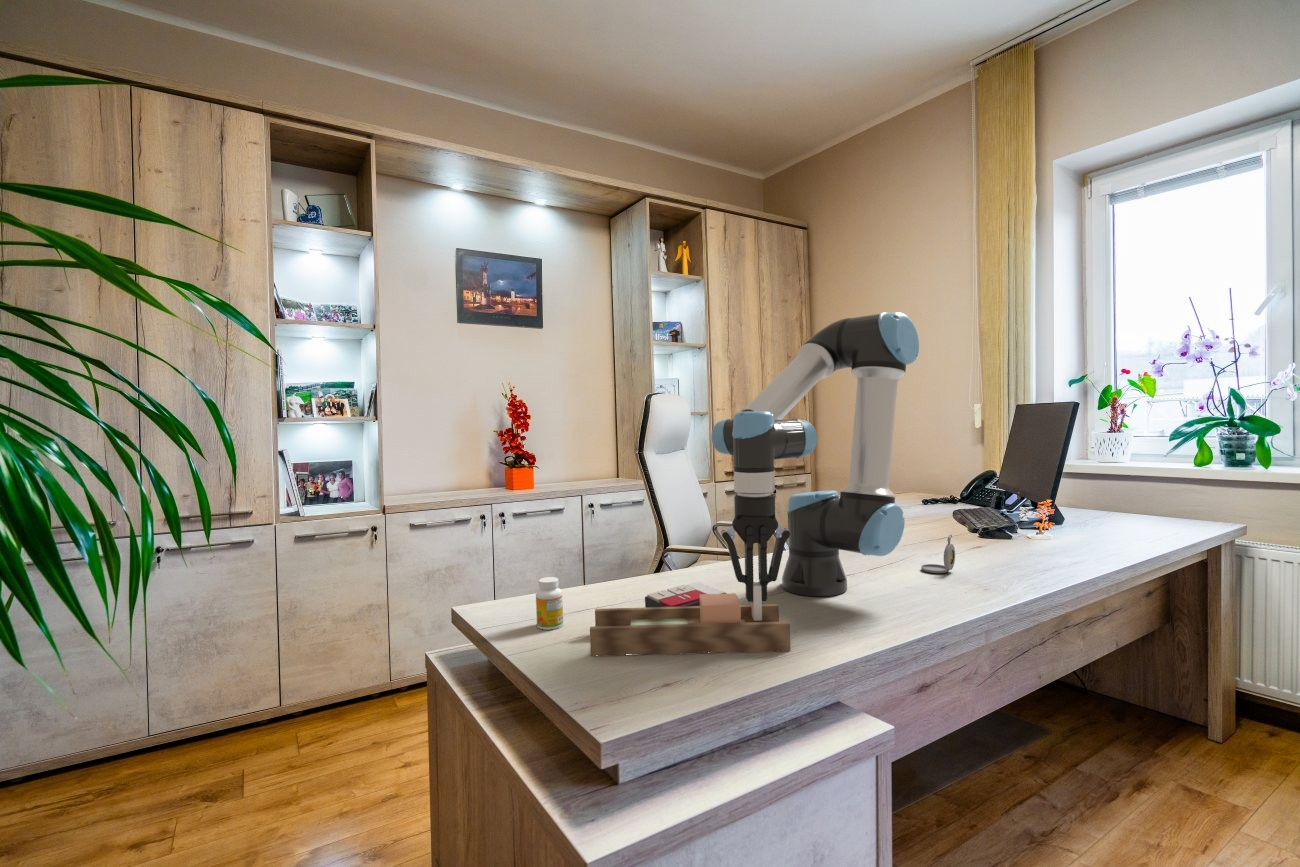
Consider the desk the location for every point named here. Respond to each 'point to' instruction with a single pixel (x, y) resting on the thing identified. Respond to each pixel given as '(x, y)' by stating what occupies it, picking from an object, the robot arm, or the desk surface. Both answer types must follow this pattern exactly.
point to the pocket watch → (948, 560)
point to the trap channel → (685, 631)
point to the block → (719, 608)
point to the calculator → (680, 595)
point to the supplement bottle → (549, 604)
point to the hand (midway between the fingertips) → (756, 617)
